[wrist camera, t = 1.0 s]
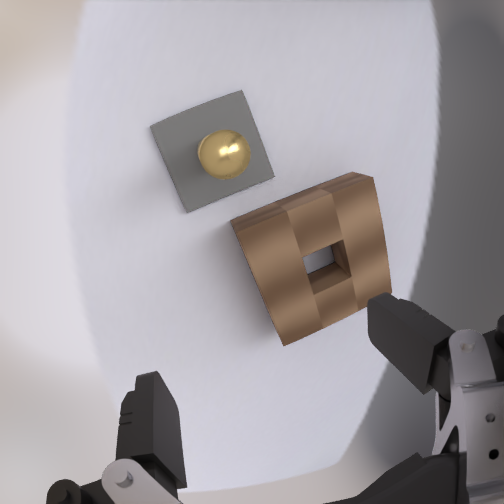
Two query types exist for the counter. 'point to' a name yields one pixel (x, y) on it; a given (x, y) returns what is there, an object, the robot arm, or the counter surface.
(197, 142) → the rubber mat
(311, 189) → the walnut block
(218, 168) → the brass pin
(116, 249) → the counter surface
